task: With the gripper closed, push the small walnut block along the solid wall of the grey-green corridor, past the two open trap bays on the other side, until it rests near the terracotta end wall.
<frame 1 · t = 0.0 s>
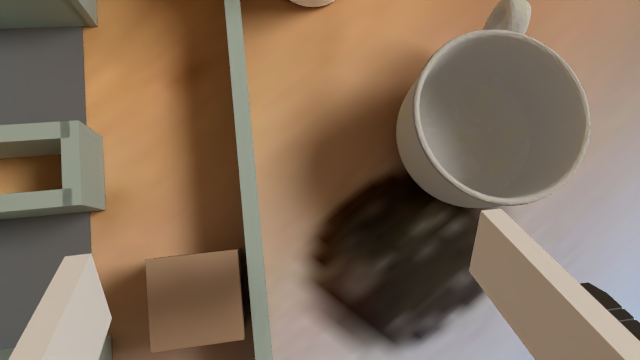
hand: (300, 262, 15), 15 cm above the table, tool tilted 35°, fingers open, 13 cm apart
teacup: (454, 126, 33), on the table
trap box: (173, 160, 30), on the table
block: (205, 290, 29), on the table
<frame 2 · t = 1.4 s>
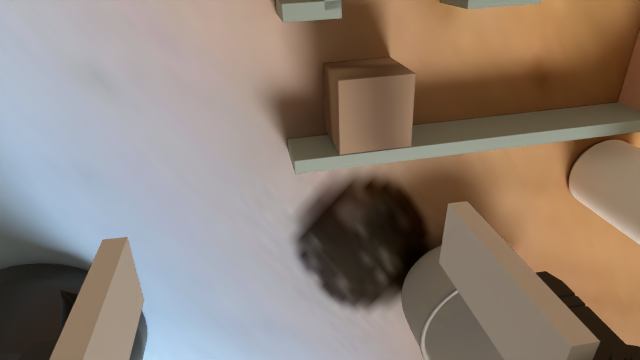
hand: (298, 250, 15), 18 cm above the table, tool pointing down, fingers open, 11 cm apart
teacup: (453, 273, 43), on the table
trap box: (471, 63, 33), on the table
can: (596, 168, 40), on the table
block: (356, 93, 32), on the table
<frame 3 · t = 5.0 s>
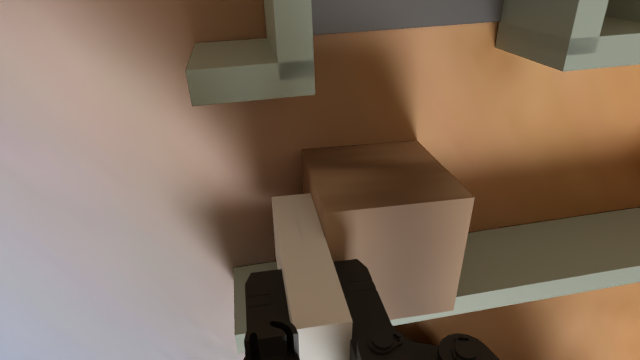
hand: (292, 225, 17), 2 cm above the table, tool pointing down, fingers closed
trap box: (540, 143, 20), on the table
block: (358, 196, 19), on the table
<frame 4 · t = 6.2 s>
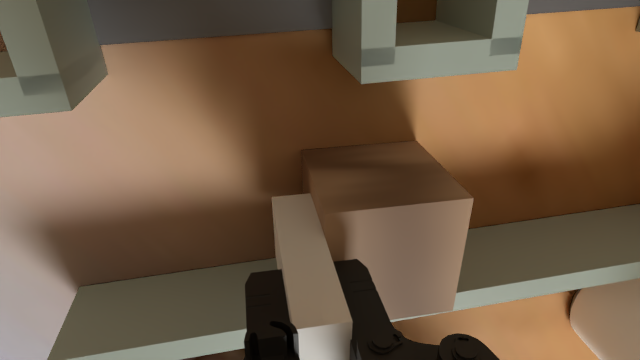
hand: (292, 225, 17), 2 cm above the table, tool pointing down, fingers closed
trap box: (402, 155, 19), on the table
can: (611, 292, 26), on the table
block: (358, 196, 19), on the table, touching gripper
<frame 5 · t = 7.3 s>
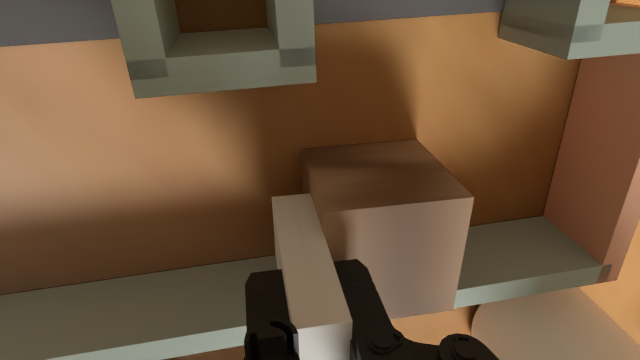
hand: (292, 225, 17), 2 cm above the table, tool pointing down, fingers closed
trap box: (256, 169, 18), on the table
can: (517, 307, 25), on the table
block: (358, 195, 19), on the table, touching gripper
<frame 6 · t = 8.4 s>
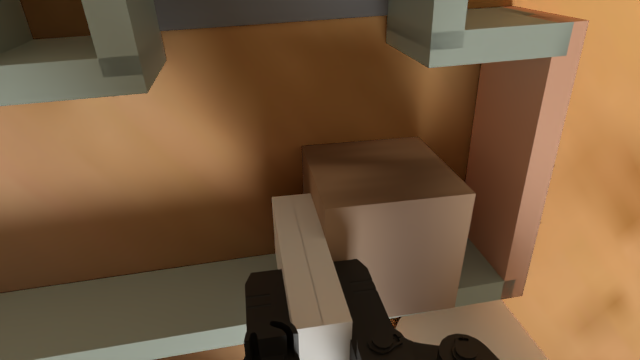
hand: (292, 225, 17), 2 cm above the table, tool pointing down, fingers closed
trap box: (137, 180, 17), on the table
can: (444, 319, 24), on the table
block: (358, 192, 19), on the table
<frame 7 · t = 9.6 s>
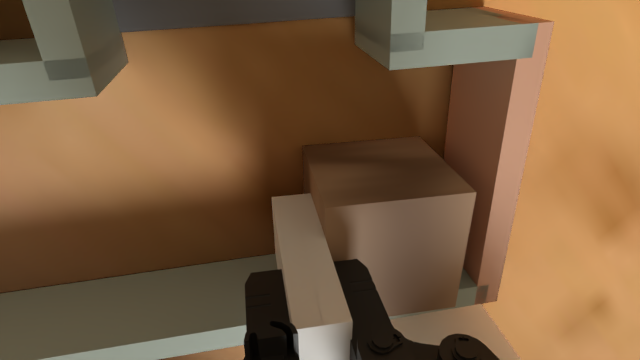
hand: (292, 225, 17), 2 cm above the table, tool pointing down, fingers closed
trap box: (103, 184, 17), on the table
can: (424, 324, 24), on the table
block: (359, 192, 19), on the table
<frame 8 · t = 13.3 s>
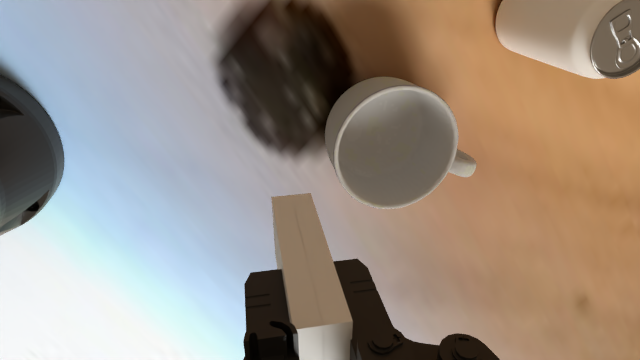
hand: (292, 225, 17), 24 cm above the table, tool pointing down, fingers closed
teacup: (383, 126, 43), on the table
can: (524, 15, 40), on the table
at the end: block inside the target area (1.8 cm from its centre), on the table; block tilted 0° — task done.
